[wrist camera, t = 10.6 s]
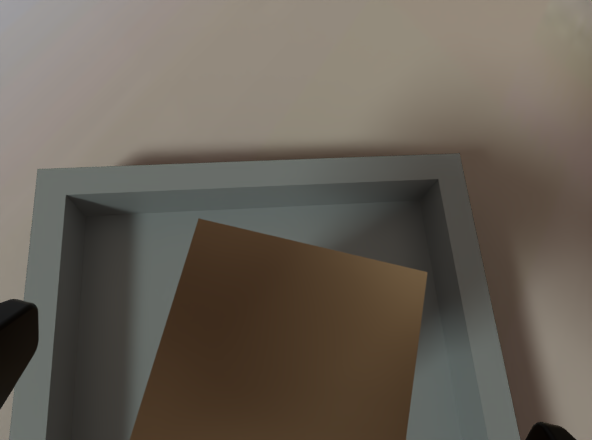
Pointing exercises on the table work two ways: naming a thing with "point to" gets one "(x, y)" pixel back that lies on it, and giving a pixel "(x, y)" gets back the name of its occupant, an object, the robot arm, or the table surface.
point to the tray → (264, 219)
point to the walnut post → (283, 344)
